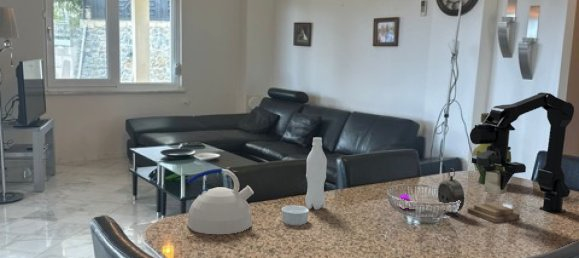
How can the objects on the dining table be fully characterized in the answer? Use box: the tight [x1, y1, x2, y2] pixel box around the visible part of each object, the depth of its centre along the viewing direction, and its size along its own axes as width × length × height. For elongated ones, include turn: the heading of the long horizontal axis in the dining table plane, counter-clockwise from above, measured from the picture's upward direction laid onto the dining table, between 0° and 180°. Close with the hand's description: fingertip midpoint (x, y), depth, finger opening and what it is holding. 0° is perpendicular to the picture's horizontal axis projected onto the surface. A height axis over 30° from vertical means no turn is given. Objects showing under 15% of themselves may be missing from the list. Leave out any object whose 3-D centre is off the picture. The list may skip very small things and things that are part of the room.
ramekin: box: [281, 205, 310, 226], centre depth 175 cm, size 9×9×4 cm
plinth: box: [467, 202, 521, 224], centre depth 188 cm, size 12×12×3 cm
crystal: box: [398, 192, 412, 201], centre depth 195 cm, size 5×5×5 cm
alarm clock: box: [437, 167, 465, 218], centre depth 188 cm, size 11×5×16 cm, turn 14°
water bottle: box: [304, 136, 328, 211], centre depth 189 cm, size 7×7×25 cm
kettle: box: [186, 168, 255, 236], centre depth 169 cm, size 20×21×18 cm
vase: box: [471, 112, 512, 186], centre depth 233 cm, size 16×16×30 cm
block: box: [483, 170, 508, 196], centre depth 186 cm, size 5×5×7 cm
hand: (495, 187), depth 186 cm, fingers closed on block, 5 cm apart
